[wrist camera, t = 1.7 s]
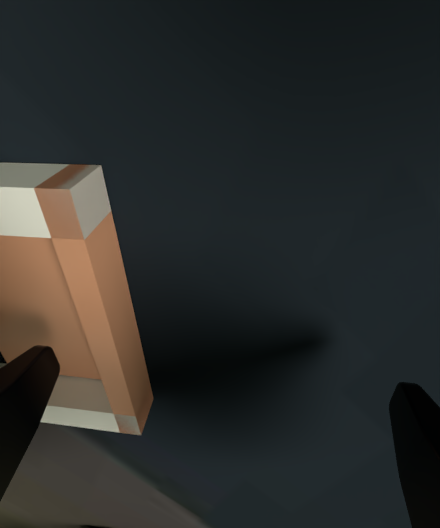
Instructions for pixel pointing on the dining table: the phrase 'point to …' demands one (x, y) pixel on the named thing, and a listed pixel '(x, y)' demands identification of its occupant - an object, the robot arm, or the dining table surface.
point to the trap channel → (71, 294)
